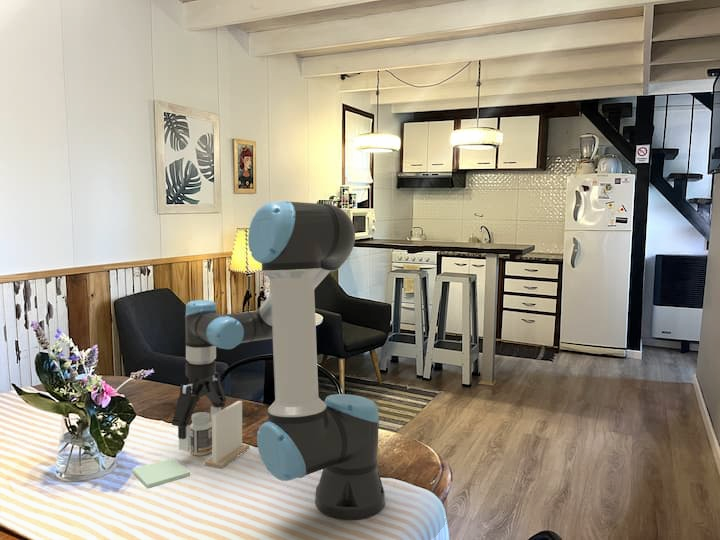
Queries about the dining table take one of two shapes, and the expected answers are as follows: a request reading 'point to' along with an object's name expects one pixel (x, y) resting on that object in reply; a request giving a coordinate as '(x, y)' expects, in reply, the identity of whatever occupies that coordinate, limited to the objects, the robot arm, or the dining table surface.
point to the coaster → (160, 472)
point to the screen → (226, 436)
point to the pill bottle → (201, 434)
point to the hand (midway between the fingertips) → (200, 439)
